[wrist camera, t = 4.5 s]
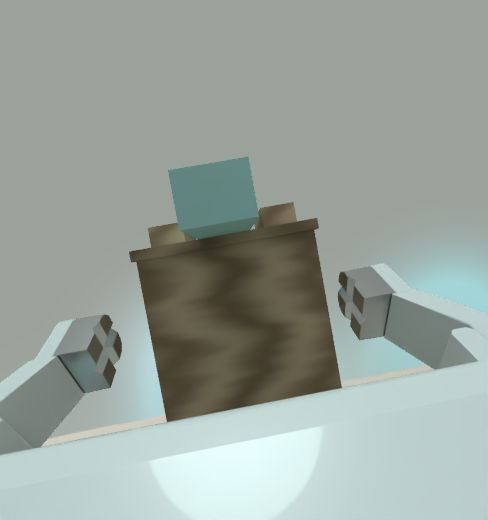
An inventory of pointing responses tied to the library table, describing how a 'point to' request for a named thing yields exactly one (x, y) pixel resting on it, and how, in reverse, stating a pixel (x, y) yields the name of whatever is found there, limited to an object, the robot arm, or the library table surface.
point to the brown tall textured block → (237, 315)
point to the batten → (214, 198)
